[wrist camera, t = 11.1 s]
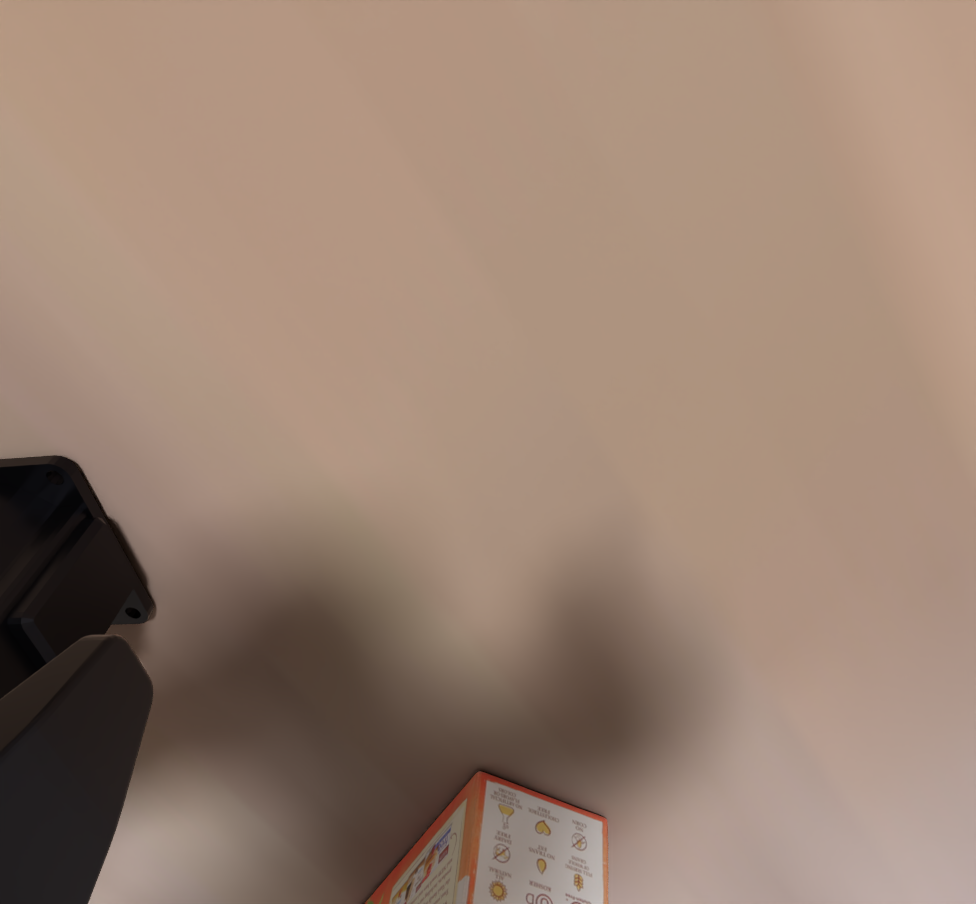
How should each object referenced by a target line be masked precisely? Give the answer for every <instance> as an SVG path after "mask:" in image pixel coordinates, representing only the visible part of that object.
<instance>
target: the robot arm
mask: <svg viewBox="0 0 976 904" xmlns="http://www.w3.org/2000/svg"><path fill="white" fill-rule="evenodd" d="M58 473H59V474H61V475H59V474H58ZM153 608H154V607H153V603H152V602H151V600H150V598H149V596H148V594H147V593H146V591H145V589H144V587H143V585H142V584H141V582H140V580H139V578H138V576H137V575H136V573H135V571H134V569H133V567H132V565H131V564H130V562H129V560H128V558H127V556H126V555H125V553H124V551H123V549H122V547H121V546H120V544H119V542H118V540H117V538H116V537H115V535H114V533H113V531H112V529H111V528H110V526H109V524H108V522H107V520H106V518H105V517H104V515H103V513H102V511H101V509H100V508H99V506H98V504H97V502H96V500H95V499H94V497H93V495H92V493H91V491H90V490H89V488H88V486H87V484H86V482H85V481H84V479H83V477H82V475H81V473H80V471H79V470H78V468H77V467H76V465H75V464H74V463H73V462H71V461H70V460H69V459H67V458H64V457H62V456H41V457H27V458H12V459H0V904H88V902H89V900H90V897H91V894H92V892H93V889H94V887H95V884H96V881H97V879H98V876H99V874H100V871H101V868H102V866H103V863H104V861H105V858H106V856H107V853H108V850H109V847H110V845H111V842H112V839H113V836H114V834H115V831H116V828H117V824H118V821H119V818H120V815H121V811H122V808H123V805H124V801H125V798H126V794H127V790H128V787H129V783H130V780H131V776H132V772H133V769H134V765H135V762H136V758H137V755H138V751H139V747H140V744H141V740H142V737H143V733H144V730H145V726H146V722H147V719H148V715H149V712H150V708H151V704H152V700H153V686H152V682H151V679H150V677H149V675H148V674H147V672H146V670H145V669H144V667H143V666H142V664H141V662H140V661H139V659H138V657H137V656H136V654H135V652H134V651H133V649H132V648H131V646H130V644H129V643H128V641H127V640H126V639H125V638H124V637H122V636H120V635H117V634H105V633H106V631H107V630H108V628H109V627H110V625H112V624H140V623H144V622H146V621H147V620H148V618H149V617H150V615H151V613H152V612H153Z"/></svg>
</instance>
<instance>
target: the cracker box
mask: <svg viewBox="0 0 976 904" xmlns="http://www.w3.org/2000/svg"><path fill="white" fill-rule="evenodd" d="M365 904H608V827H607V820H606V818H604V817H602V816H599V815H596V814H594V813H591V812H588V811H585V810H582V809H579V808H577V807H574V806H572V805H569V804H567V803H564V802H562V801H559V800H556V799H553V798H551V797H548V796H545V795H543V794H540V793H537V792H535V791H532V790H529V789H527V788H524V787H522V786H519V785H517V784H514V783H511V782H509V781H506V780H503V779H501V778H498V777H495V776H493V775H490V774H487V773H484V772H481V771H479V772H477V773H476V774H475V775H474V776H473V777H472V778H471V780H470V781H469V782H468V783H467V784H466V786H465V787H464V788H463V789H462V790H461V791H460V792H459V794H458V795H457V796H456V797H455V798H454V800H453V801H452V802H451V803H450V804H449V805H448V806H447V807H446V809H445V810H444V811H443V812H442V813H441V815H440V816H439V817H438V818H437V819H436V820H435V822H434V823H433V824H432V825H431V826H430V827H429V829H428V830H427V831H426V832H425V833H424V835H423V836H422V837H421V838H420V839H419V840H418V842H417V843H416V844H415V845H414V846H413V848H412V849H411V850H410V851H409V852H408V854H407V855H406V856H405V857H404V858H403V859H402V860H401V861H400V863H399V864H398V865H397V866H396V867H395V868H394V870H393V871H392V872H391V873H390V874H389V875H388V877H387V878H386V879H385V880H384V881H383V882H382V884H381V885H380V886H379V887H378V888H377V889H376V891H375V892H374V893H373V894H372V896H371V897H370V898H369V899H368V900H367V901H366V902H365Z"/></svg>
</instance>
